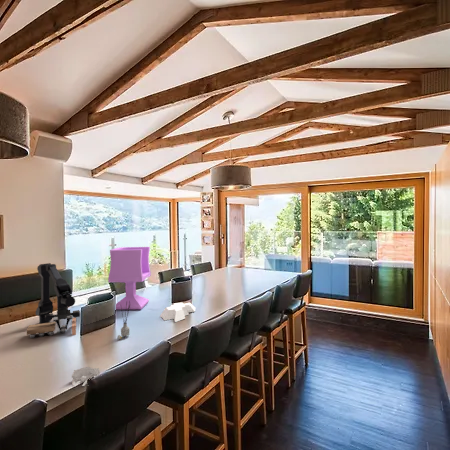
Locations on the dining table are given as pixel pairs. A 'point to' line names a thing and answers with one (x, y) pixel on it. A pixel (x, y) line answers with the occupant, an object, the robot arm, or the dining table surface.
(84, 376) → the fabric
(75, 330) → the bar
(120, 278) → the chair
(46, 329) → the slab
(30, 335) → the roller
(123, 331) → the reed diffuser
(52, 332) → the roller
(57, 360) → the dining table surface
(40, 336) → the roller mid
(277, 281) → the dining table surface
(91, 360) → the dining table surface
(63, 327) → the roller
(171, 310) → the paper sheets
